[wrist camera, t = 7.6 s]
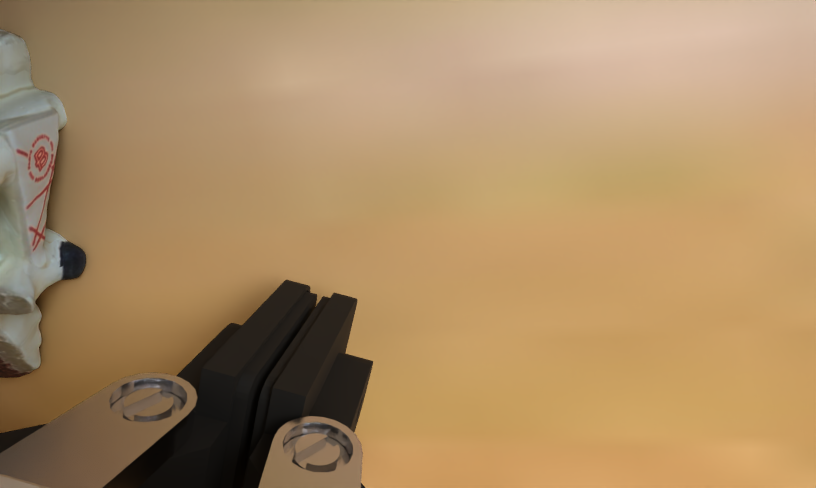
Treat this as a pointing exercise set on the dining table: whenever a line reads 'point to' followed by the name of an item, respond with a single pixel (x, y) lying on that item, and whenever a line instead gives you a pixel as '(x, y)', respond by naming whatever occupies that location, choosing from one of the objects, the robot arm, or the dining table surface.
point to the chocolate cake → (27, 208)
